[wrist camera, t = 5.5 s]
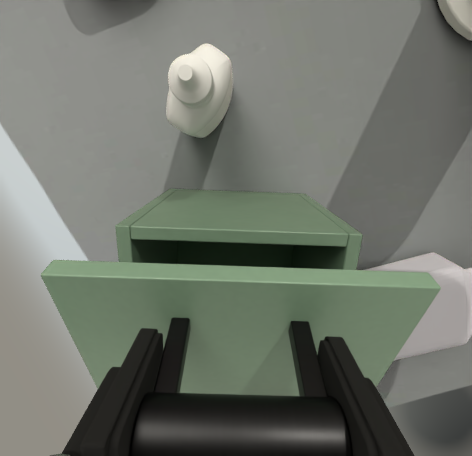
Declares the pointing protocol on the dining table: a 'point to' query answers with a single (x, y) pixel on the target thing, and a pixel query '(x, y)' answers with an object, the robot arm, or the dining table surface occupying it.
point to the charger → (439, 305)
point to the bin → (238, 231)
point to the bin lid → (238, 347)
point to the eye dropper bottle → (199, 90)
